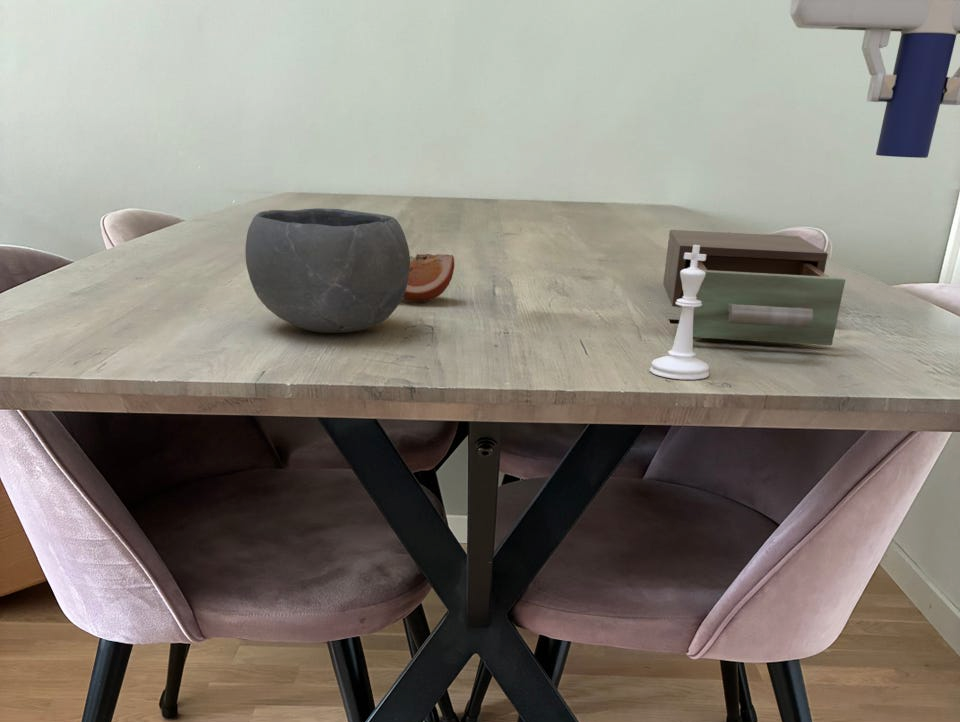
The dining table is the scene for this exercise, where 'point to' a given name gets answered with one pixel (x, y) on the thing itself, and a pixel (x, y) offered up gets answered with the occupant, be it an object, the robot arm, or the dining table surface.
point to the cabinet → (732, 252)
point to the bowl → (328, 267)
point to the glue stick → (918, 84)
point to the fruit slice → (428, 276)
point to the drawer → (766, 301)
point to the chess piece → (685, 328)
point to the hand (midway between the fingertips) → (912, 103)
